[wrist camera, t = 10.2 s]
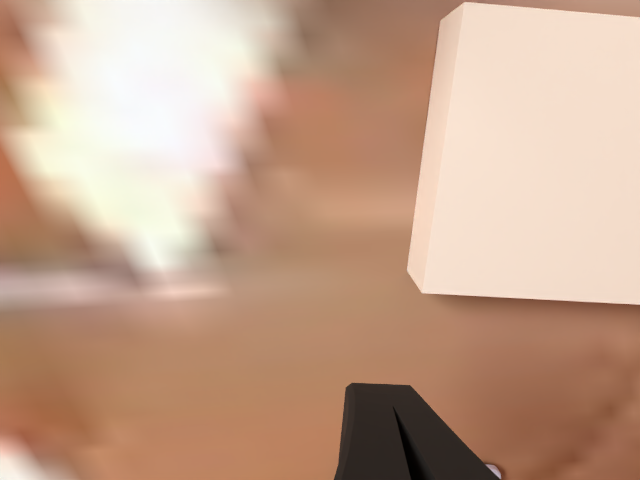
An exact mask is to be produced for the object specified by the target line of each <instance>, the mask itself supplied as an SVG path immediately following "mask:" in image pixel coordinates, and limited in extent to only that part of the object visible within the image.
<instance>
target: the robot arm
mask: <svg viewBox="0 0 640 480" xmlns="http://www.w3.org/2000/svg"><path fill="white" fill-rule="evenodd" d="M334 480H501V474H500V472H499V470H498V468H497V467H496V466H494V465H488V464H484V463H483V462H482V461H481V460H480V459H479V458H478V457H477V456H476V455H475V454H474V453H473V452H472V451H471V450H470V449H469V448H468V447H467V446H466V445H465V444H464V443H463V442H462V440H461V439H460V438H459V437H458V436H457V435H456V434H455V433H454V432H453V431H452V430H451V429H450V428H449V427H448V426H447V425H446V424H445V422H444V421H443V420H442V419H441V418H440V417H439V416H438V415H437V414H436V413H435V412H434V411H433V410H432V408H431V407H430V406H429V405H428V404H427V403H426V402H425V401H424V400H423V399H422V397H421V396H420V395H419V394H418V393H417V392H416V391H415V390H414V389H413V388H412V387H411V386H410V385H390V384H366V383H351V384H350V385H349V386H347V387H346V392H345V402H344V412H343V422H342V432H341V442H340V452H339V464H338V468H337V471H336V475H335V478H334Z"/></svg>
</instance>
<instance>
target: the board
mask: <svg viewBox="0 0 640 480" xmlns="http://www.w3.org/2000/svg"><path fill="white" fill-rule="evenodd" d="M407 272H408V273H409V275H410V276H411V278H412V279H413V280H414V282H415V283H416V285H417V286H418V288H419V289H420V291H421V292H422V293H430V294H449V295H468V296H487V297H506V298H524V299H543V300H562V301H581V302H600V303H619V304H638V305H640V17H629V16H618V15H606V14H595V13H584V12H572V11H561V10H550V9H538V8H527V7H516V6H504V5H493V4H482V3H470V2H464V3H463V4H461V5H460V6H459V7H457V8H456V9H455V10H453V11H452V12H451V13H449V14H448V15H447V16H445V17H444V18H443V19H442V20H440V26H439V34H438V41H437V49H436V56H435V64H434V71H433V79H432V86H431V94H430V101H429V109H428V116H427V124H426V131H425V139H424V146H423V154H422V161H421V169H420V176H419V184H418V191H417V199H416V206H415V214H414V221H413V229H412V236H411V244H410V251H409V259H408V266H407Z"/></svg>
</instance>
